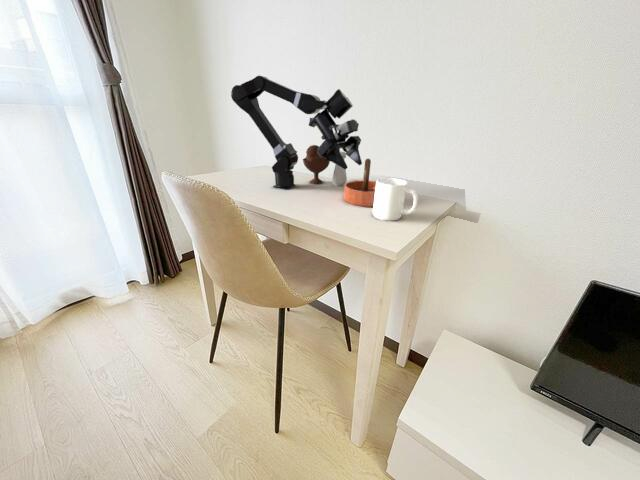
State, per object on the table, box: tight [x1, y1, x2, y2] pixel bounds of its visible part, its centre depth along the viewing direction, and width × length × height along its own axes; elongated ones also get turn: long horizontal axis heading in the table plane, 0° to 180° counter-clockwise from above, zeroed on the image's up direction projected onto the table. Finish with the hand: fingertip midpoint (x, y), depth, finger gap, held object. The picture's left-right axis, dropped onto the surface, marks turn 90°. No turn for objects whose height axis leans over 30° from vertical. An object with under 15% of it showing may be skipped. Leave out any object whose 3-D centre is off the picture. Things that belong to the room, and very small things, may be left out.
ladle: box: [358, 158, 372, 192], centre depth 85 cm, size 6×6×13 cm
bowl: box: [342, 179, 376, 208], centre depth 87 cm, size 14×14×5 cm
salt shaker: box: [332, 150, 348, 187], centre depth 102 cm, size 6×6×13 cm
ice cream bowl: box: [302, 144, 331, 185], centre depth 105 cm, size 11×11×15 cm
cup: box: [372, 177, 419, 222], centre depth 72 cm, size 8×12×10 cm
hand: (353, 166), depth 86 cm, fingers open, 9 cm apart
